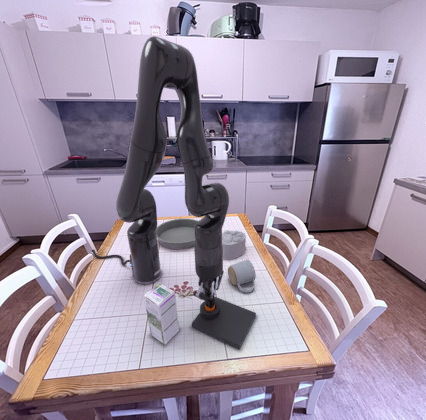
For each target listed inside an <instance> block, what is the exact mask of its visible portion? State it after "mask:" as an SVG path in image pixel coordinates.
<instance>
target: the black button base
mask: <svg viewBox="0 0 426 420" xmlns="http://www.w3.org/2000/svg"><path fill="white" fill-rule="evenodd" d="M256 316H257V312H255V311H254V310H253V311H252V310H251V309H247V308H245V307H242V306H240V305H237V304H234V303H232V302H230V301H227V300H224V299H222V298H219V297H218V296H215V310H214V311H212V312H208V311H205V301H204V300H203V301H202V302H201V304H200V305H199V313H198V315H197V316H196V317H195V318H194V320H192V322H191V328H192V329H194V330H197V331H199V332H201V333H203V334H205V335H208V336H210V337H211V338H213V339H215V340H218V341H220V342H222V343H224V344H226V345H229V346H230V347H233V348H235V349H237V350H241V347H242V345H243V343H244V341H245V339H246V337H247V335H248V333H249V332H250V329H251V328H252V325H253V324H254V321H255V319H256Z"/></svg>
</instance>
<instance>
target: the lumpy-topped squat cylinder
mask: <svg viewBox="0 0 426 420" xmlns="http://www.w3.org/2000/svg"><path fill="white" fill-rule="evenodd" d="M246 241H247V235H246V234H245V232H243V231H239V230H229V229H226V230H224V231H223V232H222V246H223V260H228V261H229V260H234V259H237V258H239V257H241V256H243V255H244V254H245V252H246Z"/></svg>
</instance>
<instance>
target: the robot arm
mask: <svg viewBox="0 0 426 420" xmlns="http://www.w3.org/2000/svg"><path fill="white" fill-rule="evenodd" d="M140 53H141V54H140V58H139V66H138V67H139V68H138V69H139V70H138V81H137V82H138V83H137V94H136V104H135V113H134V119H133V124H132V130H131V135H130V139H129V144H128V145H129V146H128V150H127V151H128V152H127V158H126V163H125V168H124V172H123V178H122V182H121V184H120V188H119V191H118V195H117V197H116V203H115V207H116V209H115V210H116V213H117V216H118V217H119V219H120V220H121V221H122V222H124V223H127V224H128V223H129V224H130V223H132V224H131V225H130V226H129V227H128V229H127V231H126V235H127V241H128V246H129V251H130V254H129V259H126V260H125V261H124V258H123V257H122V256H121V255H119V254H110V255H109V254H108V255H104V256H102V255H101V256H100V255H98V254H97V253H96V250H95V249H91V253H93V256H94V257H95V258H97V259H109V258H119V259H120V262H121V265H122V266H125V265H127V263H129V265H130V267H131V272H132V277H133V278H134V280H135V282H136V283H137V284H140V285H150V284H153V283H156V282H157V281H158V280H159V279H160V278H161V277H162V269H161V261H160V252H159V243H158V239H157V236H156V229H157V227H158V214H157V213H158V212H157V211H158V210H157V203H156V200H155V197H154V195H153V194H152V192H151V191H150V190H149V189H146V186H147V185H148V184H149V182H150V181H151V180H152V179H153V177H154V176H155V175H156V173H157V172H158V171H159V169H160V168H161V166H162V164H163V161H164V158H165V154H166V151H167V146H168V138H167V137H168V136H167V133H166V129H165V127H164V124H163V123H164V122H163V121H162V117H161V112H160V110H161V109H160V106H161V100H162V99H161V98H162V95H163V92H164V91H163V90H164V89H169V90H173V91H175V93H176V95H177V98H178V101H179V107H180V117H179V118H180V119H179V121H178V127H177V132H176V145H177V151H178V154H179V158H180V161H181V166H182V168H183V176H184V203H185V206H186V209H187V211H188V213H190V214H191V215H192V216H193V217H195V218H201V219H199V220H197V221H198V222H197V223H196V224H195V228H194V232H195V246H194V267H195V269H194V270H195V274H196V275H197V277H198V282H197V283H198V284H197V285H198V289H197V290H195V291H194V292H193V295H192V296H194V297H196V298H198V299H199V300H201V301H203V302H204V301H205V305H206V306H207V307H209V308H212V307H213V306H214V305H215V297H216V294H217V291H218V290H219V289H220V286H221V282H222V279H223V276H224V259H223V246H222V233H223V227H224V223H225V221H226V217H227V213H228V210H229V204H230V196H229V191H228V190H227V188H226V187H225V185H224V184H222V183H220V182H212V183H208V184H203V177H204V176H205V175H206V176H207V174H210V173H212V172H213V170H214V163H213V159H212V156H211V155H212V154H211V151H210V148H209V145H208V141H207V136H206V133H205V127H204V122H203V115H202V105H201V96H200V89H199V79H198V71H197V66H196V62H195V57H194V56H193V53H192V52H191V51H190V50H189V49H188V48H187V47H185V46H183V45H181V44H177V43H176V42H172V41H170V40H167V39H165V38H162V37H159V36H155V35H152V36H150V37H148V38H147V39H146V41H145V42H144V44H143V47H142V49H141V52H140Z"/></svg>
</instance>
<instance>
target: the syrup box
mask: <svg viewBox="0 0 426 420" xmlns="http://www.w3.org/2000/svg"><path fill="white" fill-rule="evenodd" d="M143 300H144V304H145V305H144V306H145V310H146V316H147V322H148V326H149V332H150V336H151V337H153V338H154V339H155V340H157V341H158V342H160V343H161V344H162V345H164V346H165V345H167V344H168V343H169V341H170V340H171V339H172V338H173V337H174V336H175V335H176V334H177V333H178V332H179V331H180V326H179V318H178V309H177V308H178V307H177V299H176V292H175V290H173V289H170V288H169V287H168V286H165V285H163V284H162V283H159V284H157V285H156V286H154V287H152V288H151V289H150V290H149V291H147V292H146V293H145V294H144V295H143Z"/></svg>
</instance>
